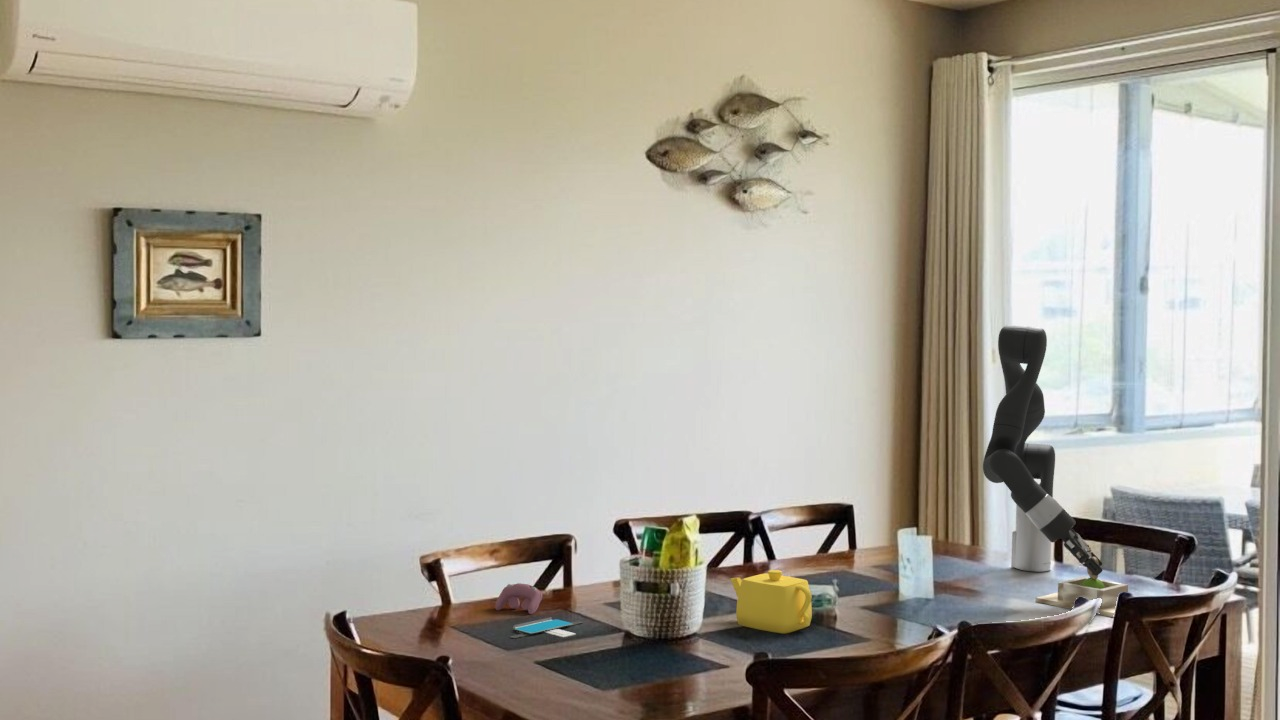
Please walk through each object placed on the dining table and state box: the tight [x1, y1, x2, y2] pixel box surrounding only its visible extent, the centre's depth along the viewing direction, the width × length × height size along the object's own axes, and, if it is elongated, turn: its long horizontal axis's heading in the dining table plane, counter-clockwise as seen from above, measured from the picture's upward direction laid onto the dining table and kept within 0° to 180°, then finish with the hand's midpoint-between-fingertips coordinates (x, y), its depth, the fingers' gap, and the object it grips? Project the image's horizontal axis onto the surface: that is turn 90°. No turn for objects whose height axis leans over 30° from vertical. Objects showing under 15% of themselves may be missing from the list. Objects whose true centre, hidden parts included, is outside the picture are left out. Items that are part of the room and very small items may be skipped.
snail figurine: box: [1081, 546, 1105, 589], centre depth 317 cm, size 5×6×12 cm
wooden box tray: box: [1035, 576, 1129, 618], centre depth 317 cm, size 20×16×5 cm
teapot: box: [730, 569, 813, 634], centre depth 292 cm, size 20×12×12 cm, turn 51°
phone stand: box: [509, 616, 584, 639], centre depth 282 cm, size 20×12×2 cm, turn 137°
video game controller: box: [494, 582, 543, 615], centre depth 300 cm, size 10×5×7 cm, turn 66°
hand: (1099, 569), depth 317 cm, fingers open, 8 cm apart
